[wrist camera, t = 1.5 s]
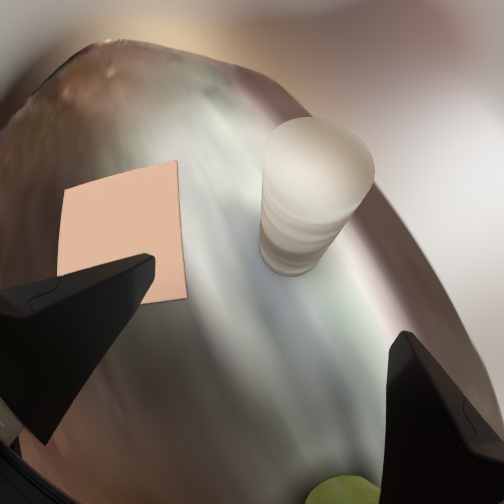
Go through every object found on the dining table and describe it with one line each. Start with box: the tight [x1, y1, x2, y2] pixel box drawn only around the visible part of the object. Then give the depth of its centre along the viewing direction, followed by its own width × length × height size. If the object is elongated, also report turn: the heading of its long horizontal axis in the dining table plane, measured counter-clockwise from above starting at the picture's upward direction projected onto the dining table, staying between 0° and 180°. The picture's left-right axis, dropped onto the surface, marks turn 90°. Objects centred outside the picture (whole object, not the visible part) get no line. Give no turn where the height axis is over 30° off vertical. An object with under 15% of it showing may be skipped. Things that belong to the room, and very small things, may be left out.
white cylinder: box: [260, 117, 375, 277], centre depth 17 cm, size 5×5×12 cm
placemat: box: [57, 160, 188, 305], centre depth 24 cm, size 13×13×1 cm
